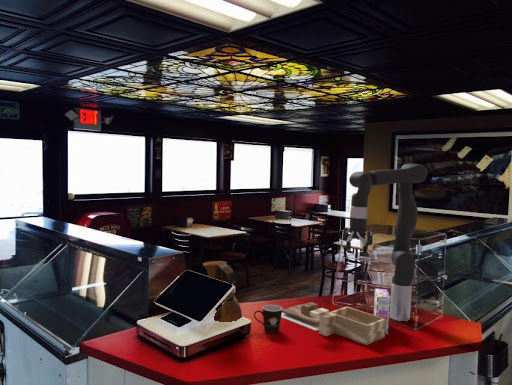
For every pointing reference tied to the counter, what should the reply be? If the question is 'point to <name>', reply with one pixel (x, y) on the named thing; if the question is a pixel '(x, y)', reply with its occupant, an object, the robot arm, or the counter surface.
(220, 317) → the ceramic pitcher
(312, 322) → the lid
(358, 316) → the wooden box
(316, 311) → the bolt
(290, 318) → the mat
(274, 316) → the coffee mug
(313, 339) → the counter surface
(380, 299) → the candy box
